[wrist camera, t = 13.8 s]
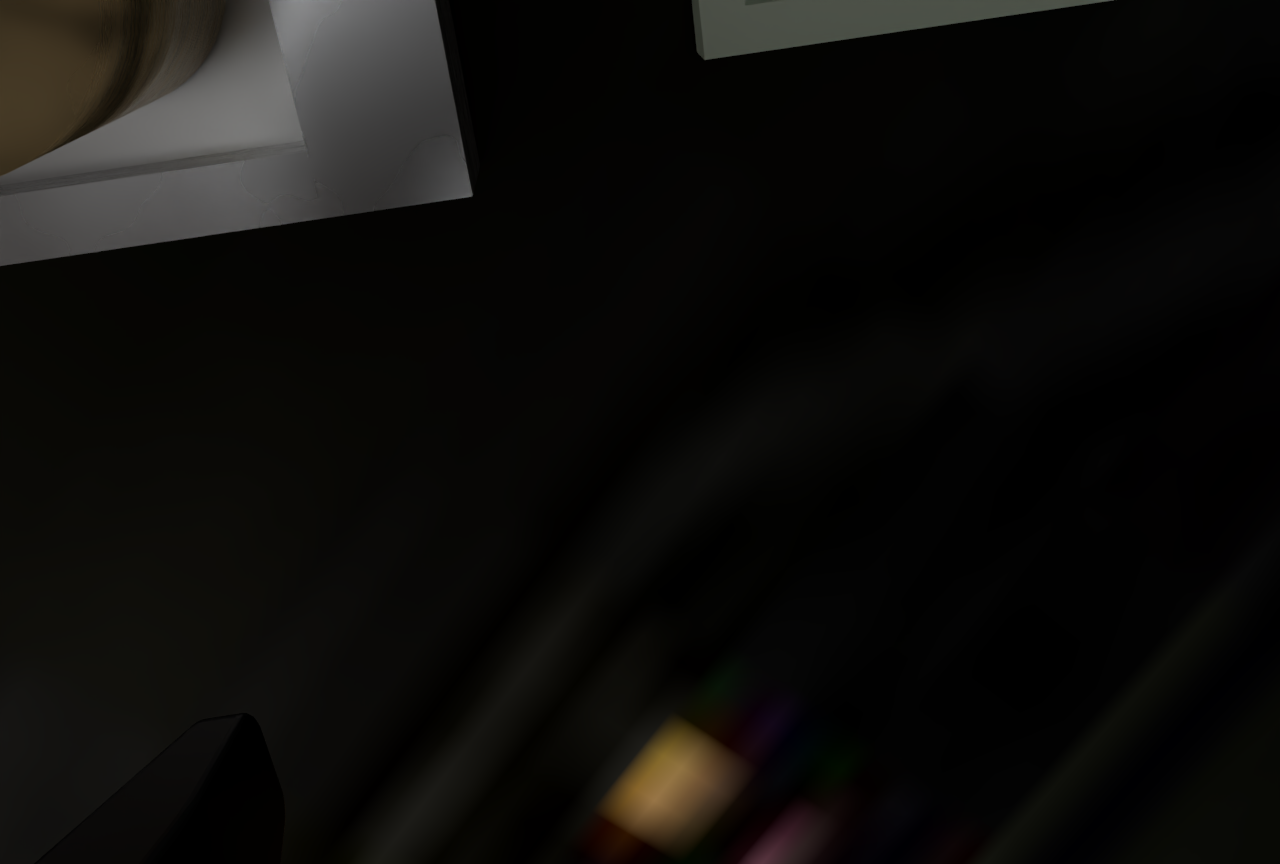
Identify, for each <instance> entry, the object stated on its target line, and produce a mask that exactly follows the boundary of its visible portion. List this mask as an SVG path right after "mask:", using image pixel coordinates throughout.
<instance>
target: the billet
mask: <svg viewBox="0 0 1280 864" xmlns="http://www.w3.org/2000/svg"><path fill="white" fill-rule="evenodd" d="M225 3H226V0H0V176H2V175H5V174H7V173H9V172H11V171H13V170H15V169H17V168H19V167H21V166H23V165H25V164H27V163H29V162H31V161H33V160H35V159H37V158H39V157H42V156H44V155H46V154H48V153H50V152H52V151H54V150H56V149H58V148H60V147H62V146H64V145H66V144H68V143H70V142H72V141H74V140H76V139H78V138H80V137H82V136H84V135H86V134H88V133H90V132H92V131H94V130H96V129H98V128H101V127H103V126H105V125H107V124H109V123H111V122H113V121H115V120H117V119H119V118H121V117H123V116H125V115H127V114H129V113H131V112H133V111H135V110H137V109H139V108H141V107H143V106H145V105H147V104H149V103H151V102H153V101H155V100H157V99H159V98H161V97H163V96H165V95H167V94H169V93H171V92H172V91H174V90H175V89H177V88H178V87H179V86H181V85H182V84H183V83H185V82H186V81H187V80H188V79H189V78H190V77H191V76H192V75H193V74H194V73H195V72H196V71H197V70H198V68H199V67H200V66H201V64H202V63H203V62H204V60H205V59H206V58H207V56H208V54H209V52H210V51H211V49H212V47H213V45H214V43H215V41H216V38H217V36H218V33H219V30H220V27H221V24H222V20H223V15H224V10H225Z"/></svg>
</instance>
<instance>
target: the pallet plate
mask: <svg viewBox="0 0 1280 864" xmlns="http://www.w3.org/2000/svg"><path fill="white" fill-rule="evenodd" d="M479 169H480V162H479V156H478V151H477V146H476V140H475V135H474V130H473V124H472V119H471V114H470V109H469V103H468V98H467V93H466V87H465V82H464V77H463V71H462V66H461V61H460V56H459V50H458V45H457V40H456V34H455V29H454V24H453V18H452V13H451V8H450V3H449V0H226V3H225V10H224V15H223V20H222V24H221V27H220V30H219V33H218V36H217V38H216V41H215V43H214V45H213V47H212V49H211V51H210V52H209V54H208V56H207V58H206V59H205V60H204V62H203V63H202V64H201V66H200V67H199V68H198V70H197V71H196V72H195V73H194V74H193V75H192V76H191V77H190V78H189V79H188V80H187V81H186V82H185V83H183V84H182V85H181V86H179V87H178V88H177V89H175V90H174V91H172V92H171V93H169V94H167V95H165V96H163V97H161V98H159V99H157V100H155V101H153V102H151V103H149V104H147V105H145V106H143V107H141V108H139V109H137V110H135V111H133V112H131V113H129V114H127V115H125V116H123V117H121V118H119V119H117V120H115V121H113V122H111V123H109V124H107V125H105V126H103V127H101V128H98V129H96V130H94V131H92V132H90V133H88V134H86V135H84V136H82V137H80V138H78V139H76V140H74V141H72V142H70V143H68V144H66V145H64V146H62V147H60V148H58V149H56V150H54V151H52V152H50V153H48V154H46V155H44V156H42V157H39V158H37V159H35V160H33V161H31V162H29V163H27V164H25V165H23V166H21V167H19V168H17V169H15V170H13V171H11V172H9V173H7V174H5V175H2V176H0V266H3V265H10V264H17V263H23V262H30V261H37V260H44V259H51V258H57V257H64V256H71V255H78V254H85V253H91V252H98V251H105V250H112V249H119V248H125V247H132V246H139V245H146V244H153V243H159V242H166V241H173V240H180V239H187V238H193V237H200V236H207V235H214V234H221V233H227V232H234V231H241V230H248V229H255V228H261V227H268V226H275V225H282V224H289V223H295V222H302V221H309V220H316V219H323V218H329V217H336V216H343V215H350V214H357V213H363V212H370V211H377V210H384V209H391V208H397V207H404V206H411V205H418V204H424V203H431V202H438V201H445V200H452V199H458V198H465V197H472V196H473V194H474V189H475V185H476V181H477V177H478V173H479Z"/></svg>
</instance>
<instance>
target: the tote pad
mask: <svg viewBox="0 0 1280 864" xmlns="http://www.w3.org/2000/svg"><path fill="white" fill-rule="evenodd" d="M1105 1H1112V0H692V9H693V18H694V28H695V38H696V47H697V53H698V54H699V55H700V56H701V57H702V58H703V59H704V60H707V59H714V58H721V57H728V56H735V55H742V54H749V53H755V52H762V51H769V50H776V49H783V48H790V47H797V46H803V45H810V44H817V43H824V42H831V41H838V40H845V39H851V38H858V37H865V36H872V35H879V34H886V33H893V32H899V31H906V30H913V29H920V28H927V27H934V26H940V25H947V24H954V23H961V22H968V21H975V20H982V19H988V18H995V17H1002V16H1009V15H1016V14H1023V13H1030V12H1036V11H1043V10H1050V9H1057V8H1064V7H1071V6H1078V5H1084V4H1091V3H1098V2H1105Z"/></svg>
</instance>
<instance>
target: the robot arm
mask: <svg viewBox="0 0 1280 864" xmlns="http://www.w3.org/2000/svg"><path fill="white" fill-rule="evenodd" d="M284 827H285V804H284V797H283V792H282V789H281V786H280V783H279V780H278V777H277V774H276V771H275V768H274V766H273V763H272V760H271V757H270V754H269V751H268V748H267V745H266V742H265V739H264V736H263V733H262V730H261V728H260V726H259V724H258V722H257V721H256V720H255V718H254V717H253V716H251V715H249V714H247V713H241V714H234V715H227V716H221V717H214V718H208V719H203V720H200V721H198V722H196V723H195V724H194V725H192V726H191V727H190V728H189V729H188V730H187V731H185V732H184V733H183V734H182V735H181V736H180V737H179V738H177V739H176V740H175V741H174V742H173V743H172V744H171V745H169V746H168V747H167V748H166V749H165V750H164V751H163V752H161V753H160V754H159V755H158V756H157V757H156V758H155V759H153V760H152V761H151V762H150V763H149V764H148V765H147V766H145V767H144V768H143V769H142V770H141V771H140V772H139V773H137V774H136V775H135V776H134V777H133V778H132V779H131V780H129V781H128V782H127V783H126V784H125V785H124V786H123V787H121V788H120V789H119V790H118V791H117V792H116V793H115V794H113V795H112V796H111V797H110V798H109V799H108V800H107V801H105V802H104V803H103V804H102V805H101V806H100V807H99V808H97V809H96V810H95V811H94V812H93V813H92V814H91V815H89V816H88V817H87V818H86V819H85V820H84V821H82V822H81V823H80V824H79V825H78V826H77V827H76V828H74V829H73V830H72V831H71V832H70V833H69V834H68V835H66V836H65V837H64V838H63V839H62V840H61V841H60V842H58V843H57V844H56V845H55V846H54V847H53V848H52V849H50V850H49V851H48V852H47V853H46V854H45V855H44V856H42V857H41V858H40V859H39V860H38V861H37V862H36V863H34V864H280V863H281V854H282V845H283V836H284Z"/></svg>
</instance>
